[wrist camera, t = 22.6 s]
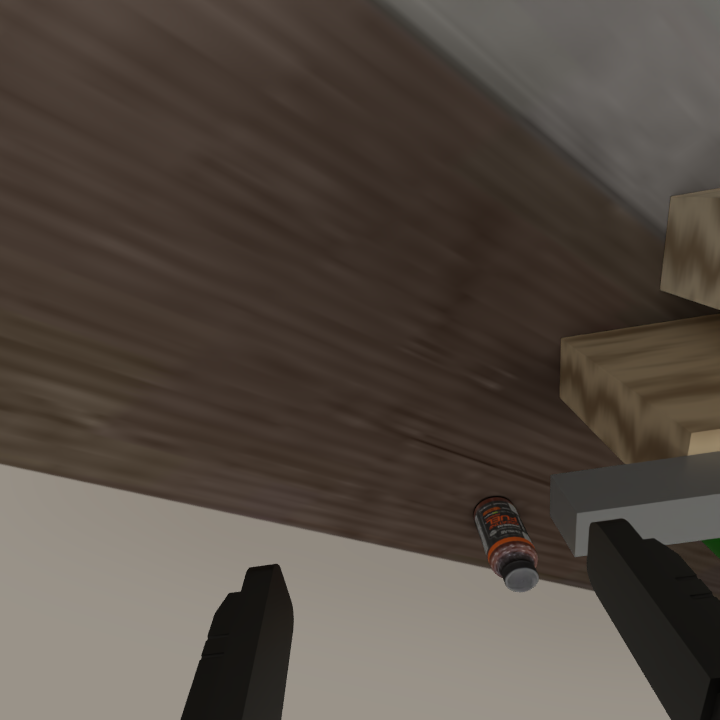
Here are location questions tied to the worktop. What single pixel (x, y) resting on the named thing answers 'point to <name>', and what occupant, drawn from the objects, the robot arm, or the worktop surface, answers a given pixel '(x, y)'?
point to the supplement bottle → (507, 543)
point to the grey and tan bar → (641, 499)
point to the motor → (713, 545)
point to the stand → (658, 354)
